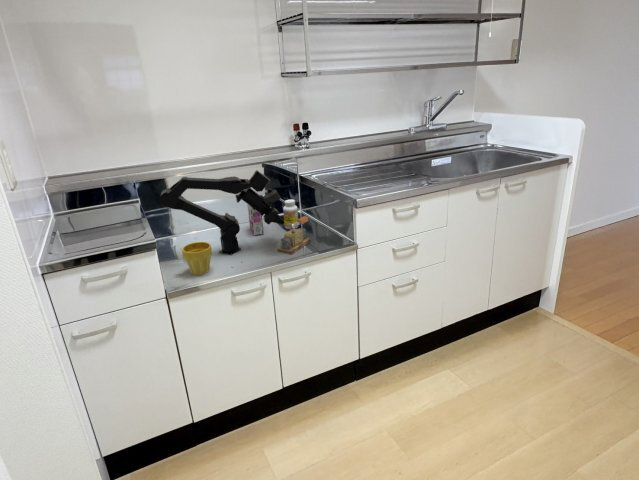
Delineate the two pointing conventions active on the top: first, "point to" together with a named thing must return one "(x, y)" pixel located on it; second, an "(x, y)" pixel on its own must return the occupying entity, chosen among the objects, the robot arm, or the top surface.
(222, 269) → the top surface
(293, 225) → the valve lever
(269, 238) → the top surface
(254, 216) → the candy bar box
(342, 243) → the top surface
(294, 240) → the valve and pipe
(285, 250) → the walnut mounting plank
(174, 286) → the top surface
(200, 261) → the plant pot
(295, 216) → the supplement bottle
